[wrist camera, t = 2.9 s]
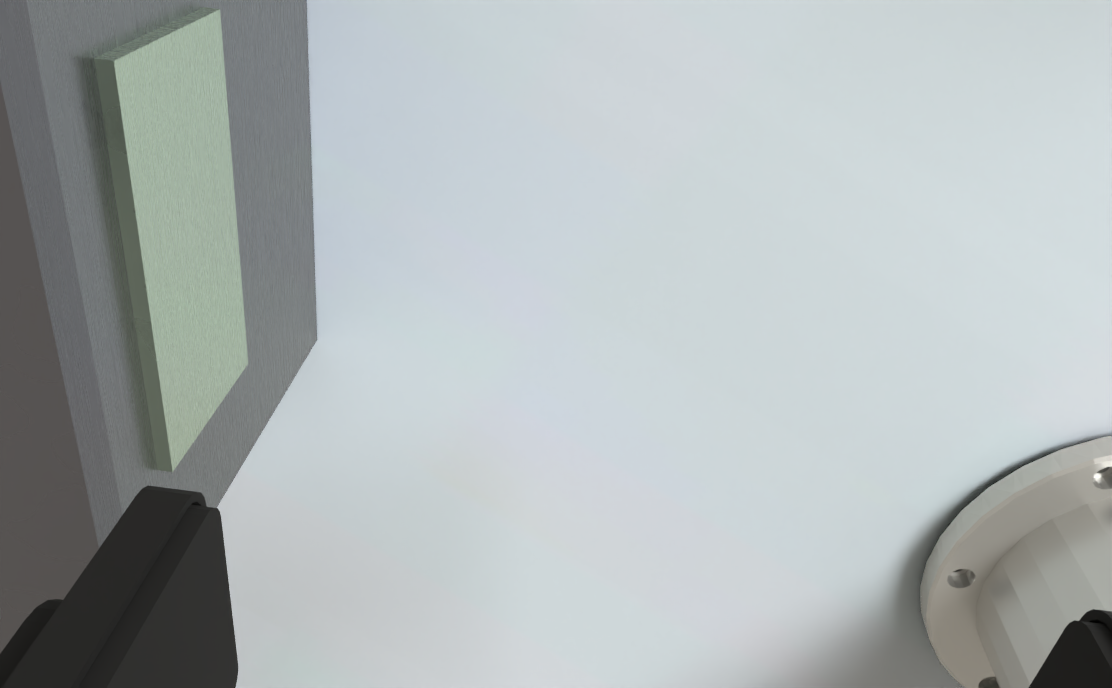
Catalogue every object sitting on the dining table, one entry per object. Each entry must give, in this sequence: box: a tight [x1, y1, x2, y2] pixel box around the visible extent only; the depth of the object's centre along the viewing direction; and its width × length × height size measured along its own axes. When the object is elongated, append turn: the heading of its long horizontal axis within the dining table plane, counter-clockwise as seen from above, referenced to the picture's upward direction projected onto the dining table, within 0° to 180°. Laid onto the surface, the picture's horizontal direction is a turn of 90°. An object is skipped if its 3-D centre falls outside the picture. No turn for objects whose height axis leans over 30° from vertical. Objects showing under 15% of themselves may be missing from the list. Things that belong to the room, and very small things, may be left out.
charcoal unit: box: [0, 0, 317, 653], centre depth 19 cm, size 7×15×13 cm, turn 173°
